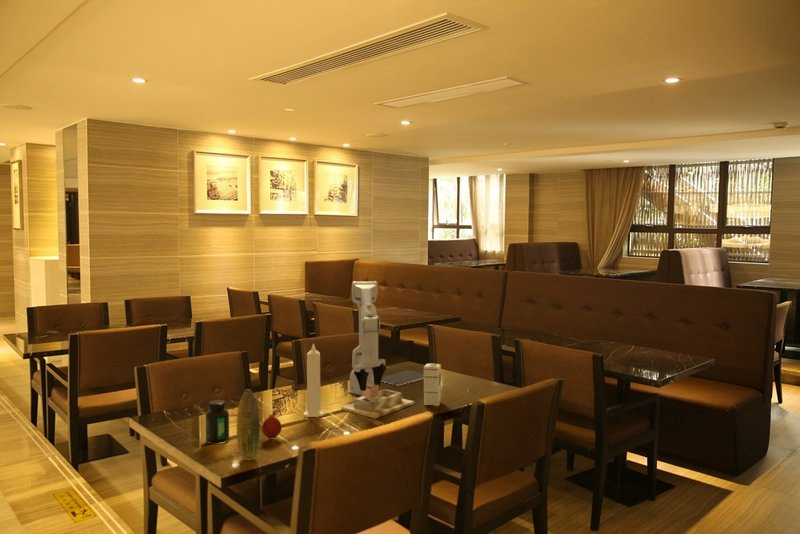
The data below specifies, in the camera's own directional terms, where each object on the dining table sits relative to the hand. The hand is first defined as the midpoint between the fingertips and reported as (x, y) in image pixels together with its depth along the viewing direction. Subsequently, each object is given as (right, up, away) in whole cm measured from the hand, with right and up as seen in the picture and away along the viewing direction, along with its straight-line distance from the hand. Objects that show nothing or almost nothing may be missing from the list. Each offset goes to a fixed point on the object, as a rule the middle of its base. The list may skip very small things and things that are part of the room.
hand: (370, 388), depth 213 cm
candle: (-19, -8, -6) cm, 22 cm away
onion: (-29, -10, -30) cm, 43 cm away
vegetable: (-32, -11, -46) cm, 57 cm away
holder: (+3, -8, +4) cm, 9 cm away
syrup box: (+23, -8, +8) cm, 25 cm away
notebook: (+12, -6, +44) cm, 46 cm away
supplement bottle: (-45, -10, -32) cm, 56 cm away
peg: (0, -7, 0) cm, 7 cm away
